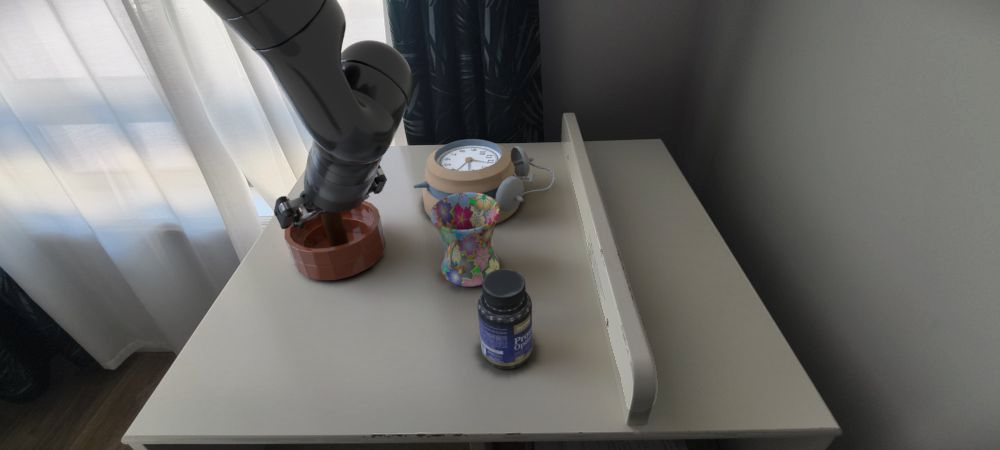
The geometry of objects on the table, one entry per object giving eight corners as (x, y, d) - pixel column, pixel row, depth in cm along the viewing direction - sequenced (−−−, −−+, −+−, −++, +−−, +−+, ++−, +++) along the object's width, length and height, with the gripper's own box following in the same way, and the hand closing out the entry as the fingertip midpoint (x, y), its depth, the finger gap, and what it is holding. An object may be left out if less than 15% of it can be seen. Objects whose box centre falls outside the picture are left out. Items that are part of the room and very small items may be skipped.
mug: (451, 247, 76) (444, 189, 70) (509, 255, 74) (507, 195, 68) (422, 301, 67) (411, 239, 60) (488, 311, 64) (483, 248, 58)
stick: (336, 258, 74) (315, 190, 67) (329, 249, 76) (308, 182, 69) (353, 250, 75) (335, 183, 68) (346, 242, 77) (327, 175, 70)
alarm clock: (432, 130, 89) (559, 135, 86) (438, 174, 95) (558, 181, 91) (401, 177, 76) (550, 185, 72) (410, 225, 81) (549, 235, 77)
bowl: (315, 298, 68) (303, 265, 64) (284, 251, 77) (272, 220, 73) (402, 257, 74) (395, 225, 71) (363, 219, 83) (356, 188, 80)
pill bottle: (524, 376, 56) (522, 307, 49) (474, 364, 58) (466, 296, 51) (538, 337, 61) (538, 269, 54) (491, 326, 62) (486, 259, 56)
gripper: (381, 125, 60) (360, 173, 75) (263, 162, 54) (265, 206, 68) (409, 179, 60) (382, 216, 74) (293, 222, 53) (289, 254, 67)
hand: (326, 211), depth 71 cm, fingers open, 8 cm apart
